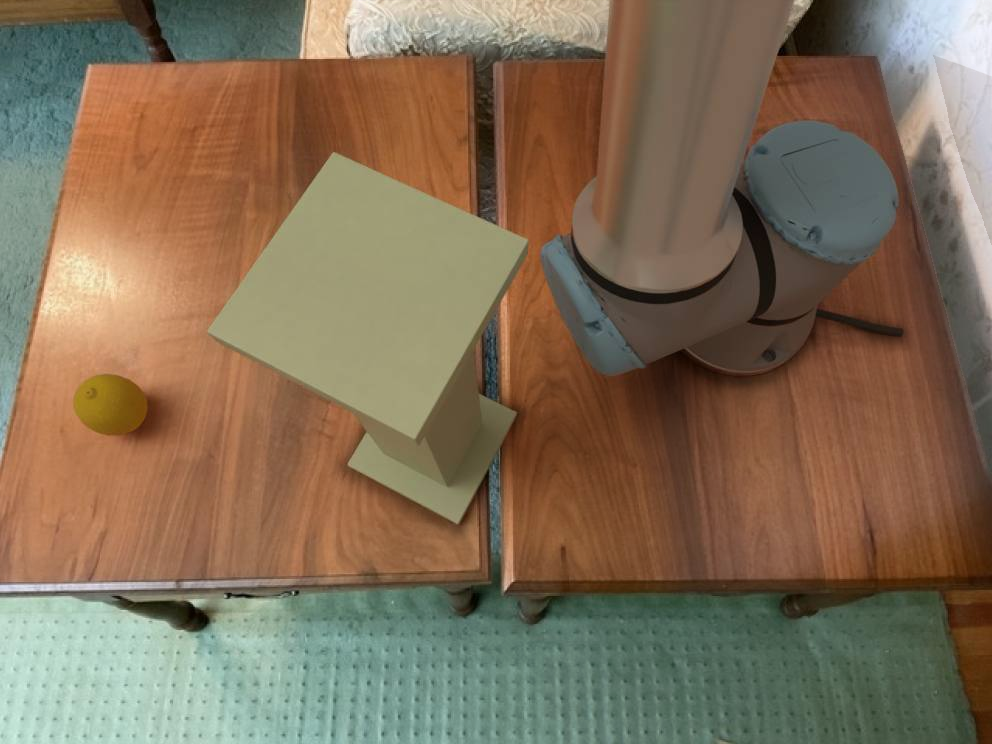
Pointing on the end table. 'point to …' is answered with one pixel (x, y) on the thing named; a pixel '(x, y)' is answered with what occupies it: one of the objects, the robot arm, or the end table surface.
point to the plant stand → (385, 325)
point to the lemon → (110, 404)
